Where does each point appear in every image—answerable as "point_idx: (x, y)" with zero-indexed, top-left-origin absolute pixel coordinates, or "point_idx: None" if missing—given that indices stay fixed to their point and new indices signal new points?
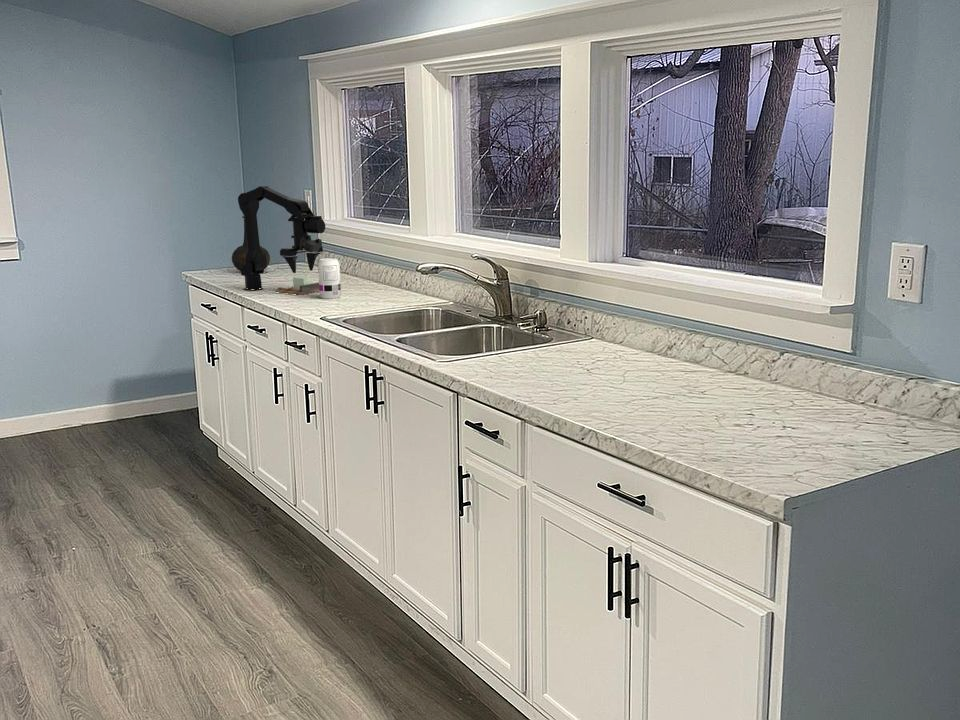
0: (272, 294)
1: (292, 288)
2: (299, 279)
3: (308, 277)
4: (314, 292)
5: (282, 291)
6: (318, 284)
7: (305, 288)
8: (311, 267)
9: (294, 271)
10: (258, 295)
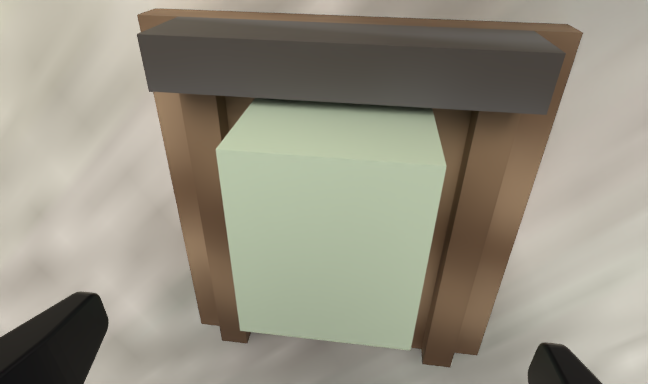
0: (545, 321)
1: None
2: (427, 238)
3: (276, 188)
4: (306, 17)
5: (496, 288)
6: (195, 32)
7: (479, 38)
8: (59, 339)
9: (587, 378)
10: (628, 373)
